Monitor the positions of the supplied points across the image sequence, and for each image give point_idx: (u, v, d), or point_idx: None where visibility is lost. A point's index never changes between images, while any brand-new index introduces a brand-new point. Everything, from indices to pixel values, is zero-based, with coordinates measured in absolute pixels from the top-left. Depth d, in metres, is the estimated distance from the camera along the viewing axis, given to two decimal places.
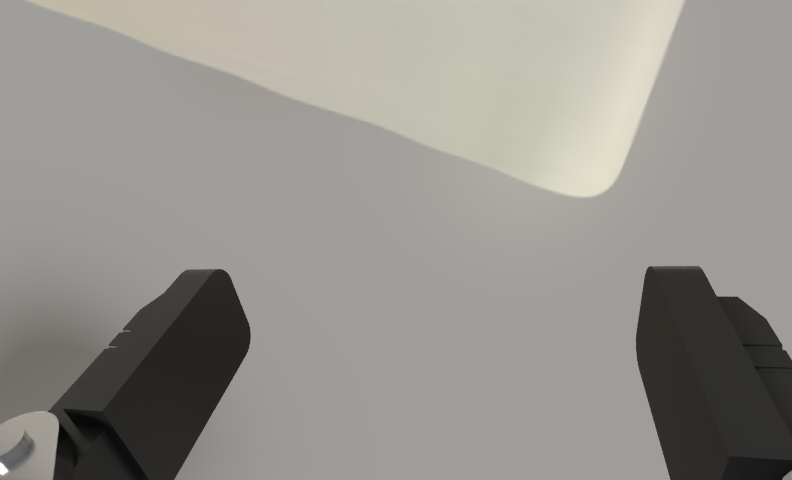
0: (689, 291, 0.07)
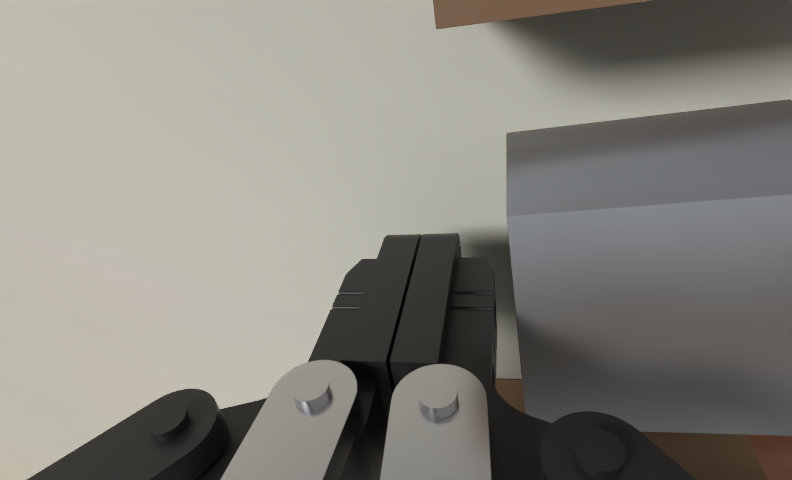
0: (436, 251, 0.09)
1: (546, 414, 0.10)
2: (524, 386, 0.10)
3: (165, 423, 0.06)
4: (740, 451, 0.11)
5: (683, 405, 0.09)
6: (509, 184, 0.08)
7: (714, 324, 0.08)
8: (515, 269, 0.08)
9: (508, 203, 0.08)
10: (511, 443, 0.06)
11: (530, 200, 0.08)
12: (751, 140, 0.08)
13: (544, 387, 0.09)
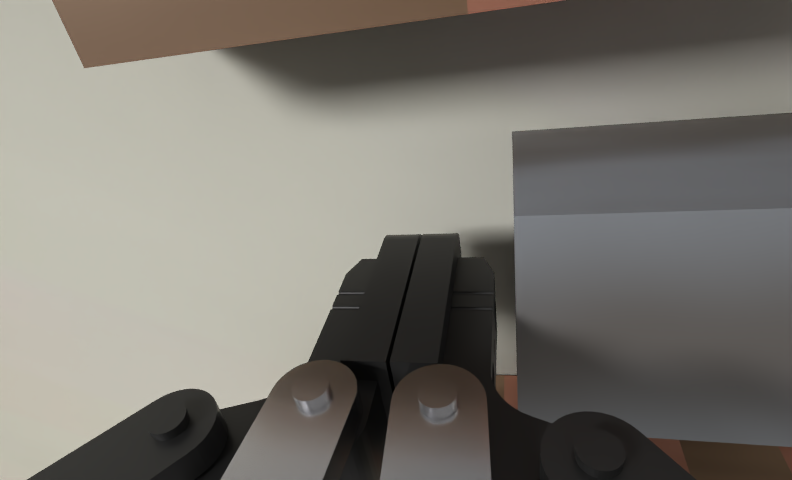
0: (436, 251, 0.09)
1: (538, 416, 0.10)
2: (519, 387, 0.09)
3: (165, 423, 0.06)
4: None
5: (675, 412, 0.09)
6: (516, 184, 0.08)
7: (712, 333, 0.08)
8: (518, 270, 0.08)
9: (515, 203, 0.08)
10: (511, 443, 0.06)
11: (537, 201, 0.08)
12: (757, 152, 0.08)
13: (539, 389, 0.09)
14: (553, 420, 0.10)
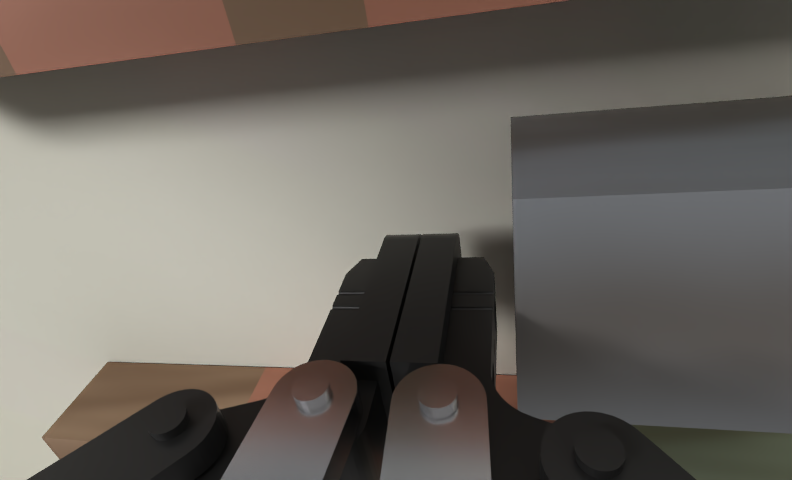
0: (436, 251, 0.09)
1: (538, 404, 0.10)
2: (518, 375, 0.09)
3: (165, 423, 0.06)
4: None
5: (676, 400, 0.09)
6: (514, 168, 0.08)
7: (713, 318, 0.08)
8: (517, 254, 0.08)
9: (514, 186, 0.08)
10: (511, 443, 0.06)
11: (536, 184, 0.08)
12: (759, 134, 0.08)
13: (538, 377, 0.09)
14: (553, 408, 0.10)
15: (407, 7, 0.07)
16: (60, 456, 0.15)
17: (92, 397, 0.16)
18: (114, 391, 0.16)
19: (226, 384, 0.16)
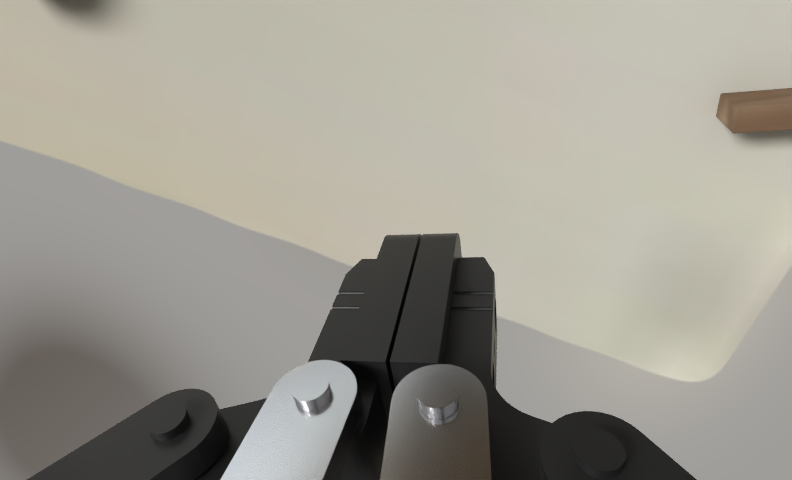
0: (436, 251, 0.09)
1: None
2: None
3: (165, 423, 0.06)
4: None
5: None
6: None
7: None
8: None
9: None
10: (511, 443, 0.06)
11: None
12: None
13: None
14: None
15: None
16: (737, 123, 0.30)
17: (739, 100, 0.31)
18: (749, 98, 0.31)
19: None
